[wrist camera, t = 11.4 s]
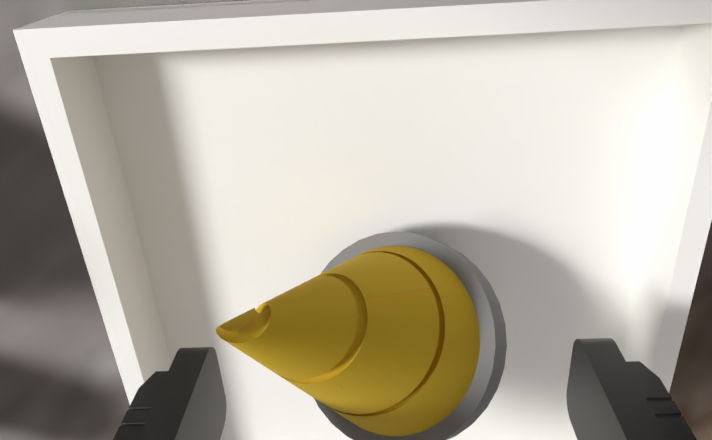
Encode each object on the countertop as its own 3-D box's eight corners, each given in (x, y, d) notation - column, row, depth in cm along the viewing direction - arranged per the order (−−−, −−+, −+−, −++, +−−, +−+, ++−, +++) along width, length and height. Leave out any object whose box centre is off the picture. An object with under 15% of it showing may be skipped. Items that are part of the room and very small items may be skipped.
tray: (68, 11, 15) (12, 30, 12) (705, -26, 14) (768, -12, 12) (184, 449, 21) (163, 511, 19) (612, 442, 21) (641, 506, 18)
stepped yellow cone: (340, 377, 20) (65, 399, 11) (405, 227, 19) (177, 130, 11) (487, 471, 17) (272, 595, 8) (564, 295, 17) (426, 237, 8)
